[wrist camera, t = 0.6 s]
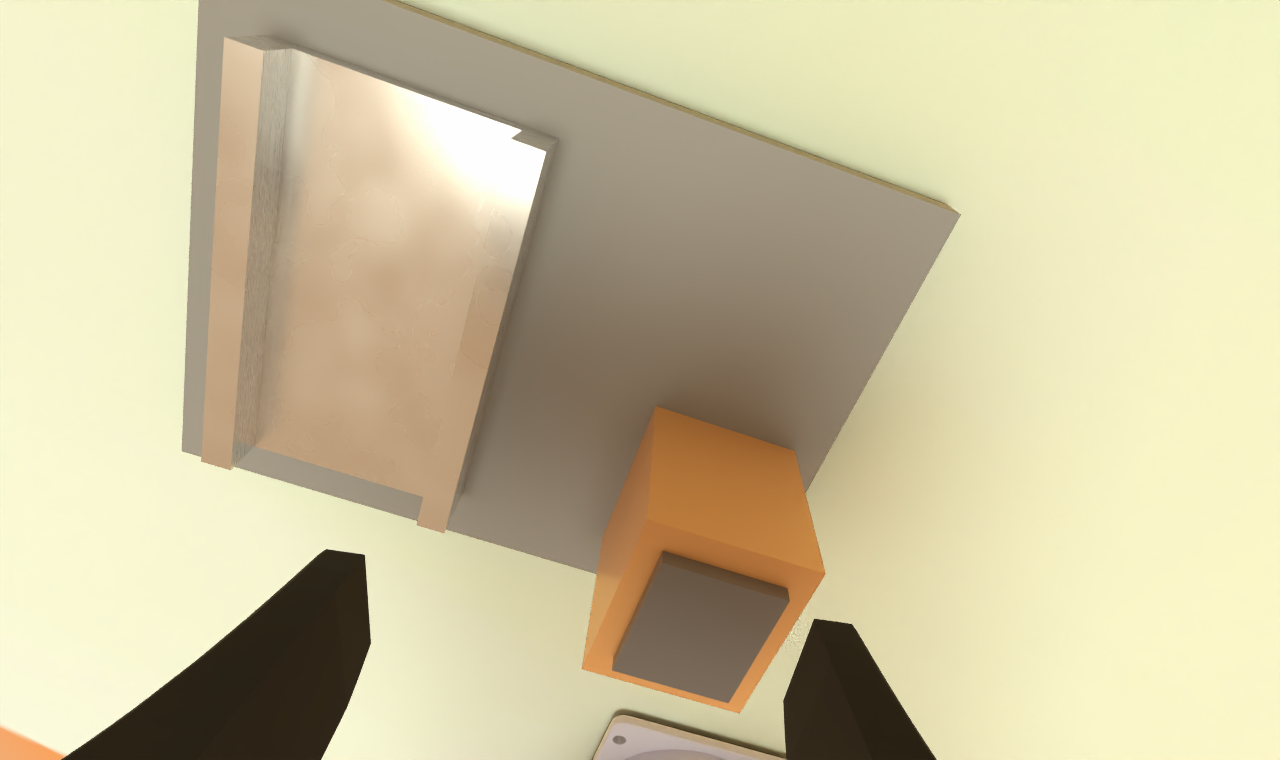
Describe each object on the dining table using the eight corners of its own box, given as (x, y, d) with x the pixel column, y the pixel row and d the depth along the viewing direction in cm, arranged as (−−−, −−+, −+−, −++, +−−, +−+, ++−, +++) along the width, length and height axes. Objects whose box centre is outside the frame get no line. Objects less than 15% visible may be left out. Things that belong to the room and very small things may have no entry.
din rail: (462, 494, 22) (444, 533, 20) (238, 427, 21) (201, 461, 19) (559, 138, 17) (546, 151, 15) (270, 34, 16) (223, 36, 14)
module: (728, 575, 22) (740, 727, 18) (602, 537, 22) (580, 682, 17) (794, 450, 20) (828, 586, 15) (655, 406, 20) (646, 530, 15)
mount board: (734, 593, 24) (736, 615, 23) (201, 433, 22) (182, 451, 21) (947, 204, 18) (960, 215, 17) (227, -62, 16) (201, -67, 15)
